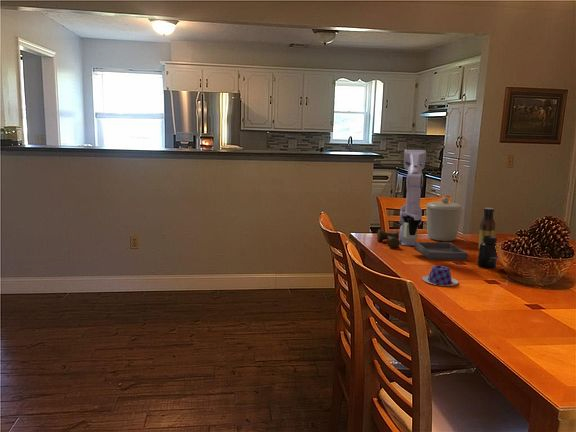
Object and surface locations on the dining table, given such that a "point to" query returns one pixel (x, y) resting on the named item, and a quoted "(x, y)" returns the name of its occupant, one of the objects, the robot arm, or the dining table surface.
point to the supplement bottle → (488, 253)
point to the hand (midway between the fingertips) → (410, 233)
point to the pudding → (440, 276)
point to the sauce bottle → (487, 225)
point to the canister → (443, 219)
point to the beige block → (406, 232)
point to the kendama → (389, 238)
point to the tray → (440, 251)
